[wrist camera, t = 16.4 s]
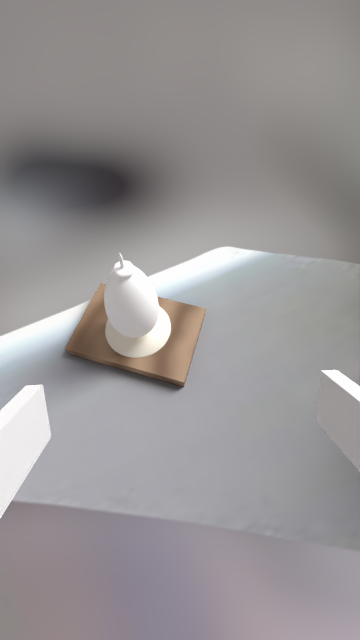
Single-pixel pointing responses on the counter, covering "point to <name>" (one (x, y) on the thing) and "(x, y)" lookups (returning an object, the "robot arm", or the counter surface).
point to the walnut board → (141, 340)
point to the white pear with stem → (130, 300)
